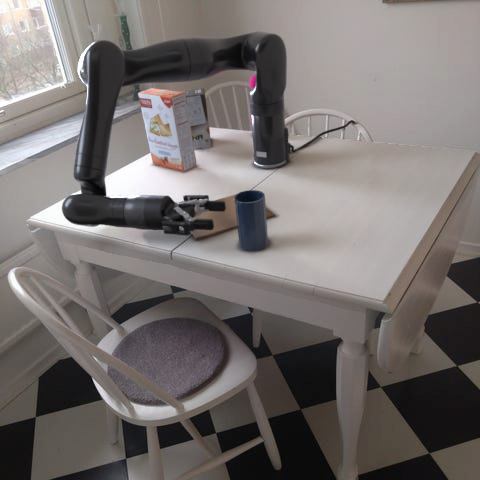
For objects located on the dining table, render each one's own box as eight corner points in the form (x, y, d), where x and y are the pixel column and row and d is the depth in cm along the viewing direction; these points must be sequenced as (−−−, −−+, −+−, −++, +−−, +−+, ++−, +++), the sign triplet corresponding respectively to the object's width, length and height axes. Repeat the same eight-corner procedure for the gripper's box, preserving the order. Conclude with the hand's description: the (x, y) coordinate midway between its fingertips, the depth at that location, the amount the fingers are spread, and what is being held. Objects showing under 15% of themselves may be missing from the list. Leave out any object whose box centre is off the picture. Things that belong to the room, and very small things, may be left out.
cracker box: (151, 164, 151) (136, 92, 138) (166, 158, 155) (152, 86, 142) (183, 173, 143) (170, 96, 131) (197, 165, 147) (186, 91, 134)
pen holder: (260, 234, 110) (256, 187, 103) (272, 245, 105) (270, 197, 98) (234, 242, 108) (229, 195, 101) (246, 254, 103) (242, 205, 97)
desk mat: (246, 193, 128) (245, 191, 128) (274, 216, 116) (274, 214, 116) (173, 213, 122) (173, 212, 122) (196, 240, 111) (195, 238, 110)
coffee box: (211, 147, 159) (205, 94, 149) (192, 149, 159) (184, 96, 149) (210, 138, 166) (204, 87, 156) (191, 140, 166) (184, 89, 156)
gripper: (132, 211, 101) (206, 214, 97) (158, 183, 112) (226, 184, 107) (140, 243, 106) (211, 247, 101) (165, 213, 116) (230, 216, 112)
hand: (219, 215), depth 104 cm, fingers open, 8 cm apart
